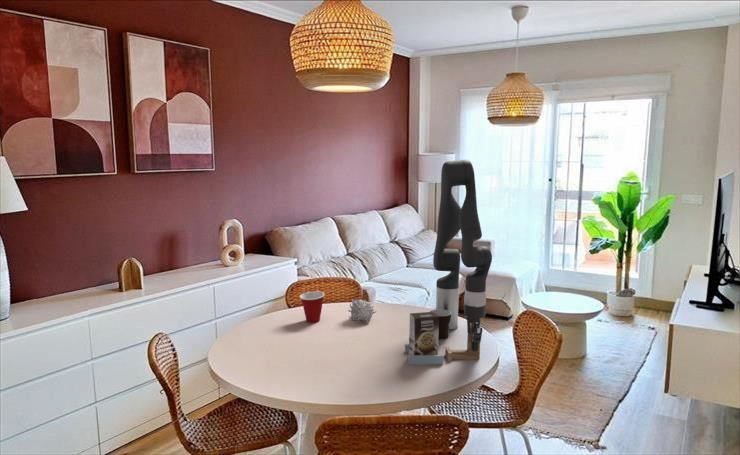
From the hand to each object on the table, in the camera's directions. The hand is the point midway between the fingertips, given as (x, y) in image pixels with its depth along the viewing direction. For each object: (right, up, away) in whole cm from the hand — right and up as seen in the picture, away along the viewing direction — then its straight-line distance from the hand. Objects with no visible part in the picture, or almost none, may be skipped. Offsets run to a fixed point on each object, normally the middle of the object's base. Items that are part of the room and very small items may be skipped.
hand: (473, 348), depth 185 cm
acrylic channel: (-18, -3, 0) cm, 18 cm away
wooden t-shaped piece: (-4, -3, 0) cm, 5 cm away
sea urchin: (-41, +3, +40) cm, 58 cm away
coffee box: (-18, -3, 0) cm, 18 cm away
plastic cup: (-62, +3, +40) cm, 74 cm away
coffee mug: (-8, 0, +22) cm, 23 cm away
